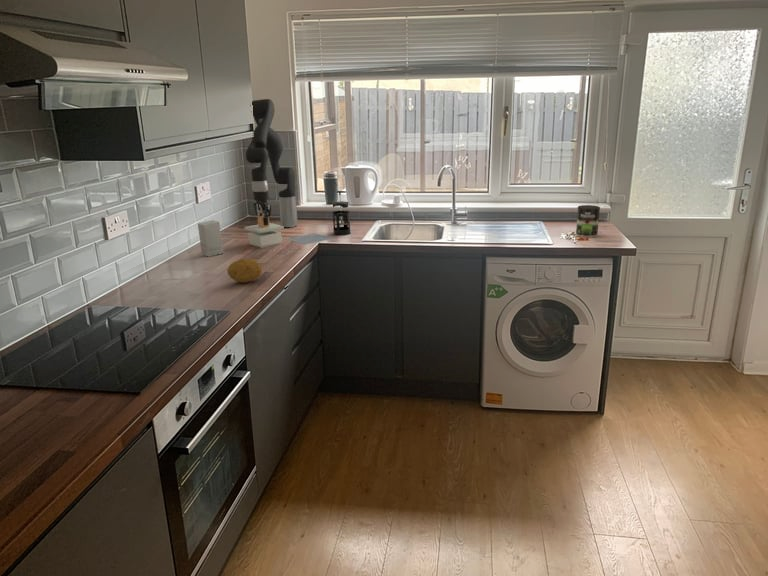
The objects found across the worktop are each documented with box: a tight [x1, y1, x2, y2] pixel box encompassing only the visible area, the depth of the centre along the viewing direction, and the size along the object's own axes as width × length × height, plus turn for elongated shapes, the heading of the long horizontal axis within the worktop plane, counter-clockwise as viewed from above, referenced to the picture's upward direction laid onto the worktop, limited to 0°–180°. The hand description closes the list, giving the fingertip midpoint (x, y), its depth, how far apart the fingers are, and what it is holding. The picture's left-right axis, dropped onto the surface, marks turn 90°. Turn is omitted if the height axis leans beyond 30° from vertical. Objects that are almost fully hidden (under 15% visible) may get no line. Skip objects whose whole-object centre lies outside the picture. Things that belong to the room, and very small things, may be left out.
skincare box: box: [197, 220, 224, 258], centre depth 269 cm, size 8×7×16 cm
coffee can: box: [575, 204, 601, 238], centre depth 283 cm, size 10×10×14 cm
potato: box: [227, 258, 262, 284], centre depth 225 cm, size 10×13×9 cm
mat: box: [285, 233, 334, 245], centre depth 296 cm, size 18×18×1 cm
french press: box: [331, 190, 352, 237], centre depth 302 cm, size 12×9×23 cm
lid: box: [244, 216, 285, 233], centre depth 285 cm, size 14×14×6 cm
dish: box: [247, 230, 283, 249], centre depth 287 cm, size 12×12×6 cm
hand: (263, 224), depth 285 cm, fingers closed on lid, 4 cm apart
